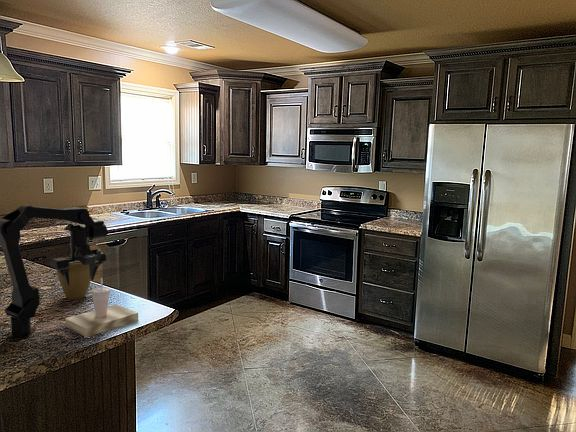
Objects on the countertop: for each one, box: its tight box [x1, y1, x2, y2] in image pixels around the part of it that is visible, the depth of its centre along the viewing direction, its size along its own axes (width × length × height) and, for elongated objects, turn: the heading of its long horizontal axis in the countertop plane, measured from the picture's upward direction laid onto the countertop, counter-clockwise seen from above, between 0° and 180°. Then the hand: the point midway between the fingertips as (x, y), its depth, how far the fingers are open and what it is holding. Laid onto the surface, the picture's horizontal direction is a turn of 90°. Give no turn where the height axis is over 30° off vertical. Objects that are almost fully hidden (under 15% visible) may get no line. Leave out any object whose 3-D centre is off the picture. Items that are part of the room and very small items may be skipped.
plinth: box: [64, 303, 139, 338], centre depth 160 cm, size 20×14×3 cm
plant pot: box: [55, 256, 92, 300], centre depth 188 cm, size 15×15×16 cm
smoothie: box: [90, 277, 111, 317], centre depth 159 cm, size 6×6×14 cm
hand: (80, 282), depth 165 cm, fingers open, 9 cm apart
